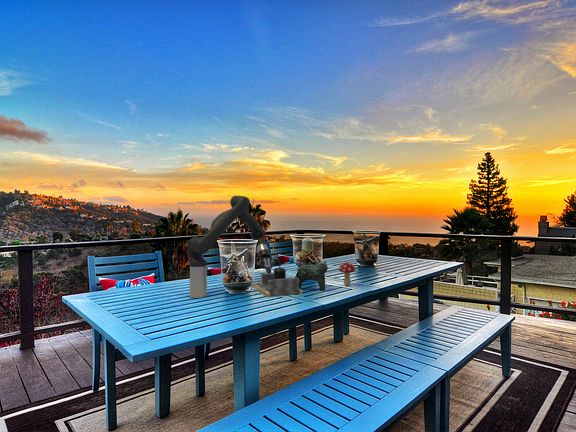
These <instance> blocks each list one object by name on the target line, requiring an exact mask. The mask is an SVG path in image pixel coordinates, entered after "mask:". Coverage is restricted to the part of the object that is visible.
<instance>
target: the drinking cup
mask: <svg viewBox="0 0 576 432" xmlns="http://www.w3.org/2000/svg"><path fill="white" fill-rule="evenodd" d="M278 262H279V263H278V267H275V268H273V269H272V270H273V273H274V278H275V279H285V273H286V272H287V269H286V268H284V267H281V258H279V259H278ZM286 274H287V273H286Z"/></svg>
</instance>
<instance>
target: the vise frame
mask: <svg viewBox="0 0 576 432" xmlns="http://www.w3.org/2000/svg"><path fill="white" fill-rule="evenodd" d="M252 283H253V284H252V286H251V288H253V289H254V290H256V291H257V292H258V293H260V294H262V295H263V296H264V297H266V298H271V297H283V296H292V295H302V294H303V289H302V288H301V289H299V278H295V277H286V279H274V280H268V289H263V288H261V287H260V281H258V282H252ZM267 290H268V291H267Z"/></svg>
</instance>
